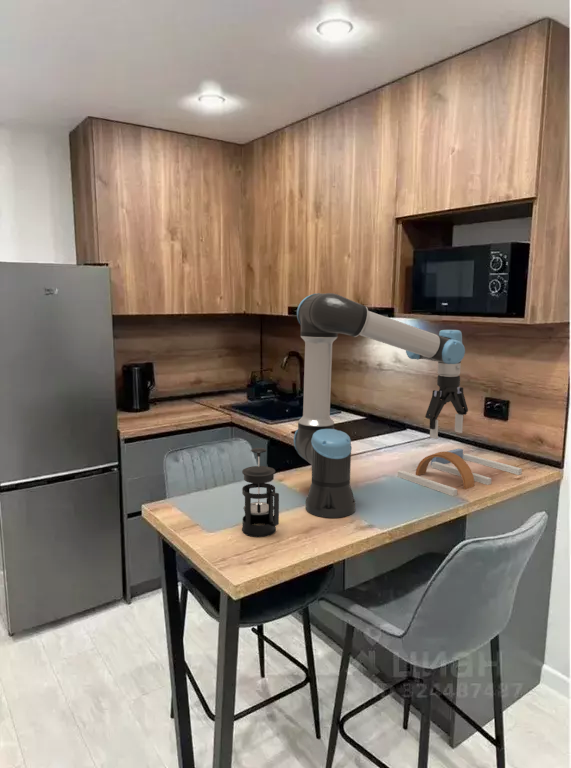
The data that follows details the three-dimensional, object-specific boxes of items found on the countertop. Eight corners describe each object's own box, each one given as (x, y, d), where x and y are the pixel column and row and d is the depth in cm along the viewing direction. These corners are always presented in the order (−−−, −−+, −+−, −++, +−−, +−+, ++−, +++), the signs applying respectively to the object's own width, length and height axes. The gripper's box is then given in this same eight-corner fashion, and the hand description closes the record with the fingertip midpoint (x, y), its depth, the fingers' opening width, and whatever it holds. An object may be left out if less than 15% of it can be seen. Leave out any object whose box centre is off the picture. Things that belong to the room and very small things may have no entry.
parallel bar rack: (453, 496, 172) (453, 484, 171) (393, 475, 192) (393, 464, 192) (521, 473, 195) (522, 463, 194) (461, 457, 216) (462, 447, 215)
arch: (424, 472, 196) (425, 446, 195) (474, 486, 182) (476, 458, 180) (415, 475, 193) (416, 449, 191) (465, 490, 178) (467, 461, 176)
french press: (232, 530, 145) (232, 449, 142) (255, 519, 152) (255, 442, 149) (265, 542, 138) (265, 457, 134) (287, 530, 145) (288, 449, 142)
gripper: (434, 379, 171) (431, 442, 175) (480, 373, 186) (477, 432, 189) (416, 376, 177) (414, 438, 181) (462, 371, 192) (459, 428, 195)
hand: (446, 435), depth 185 cm, fingers open, 13 cm apart
